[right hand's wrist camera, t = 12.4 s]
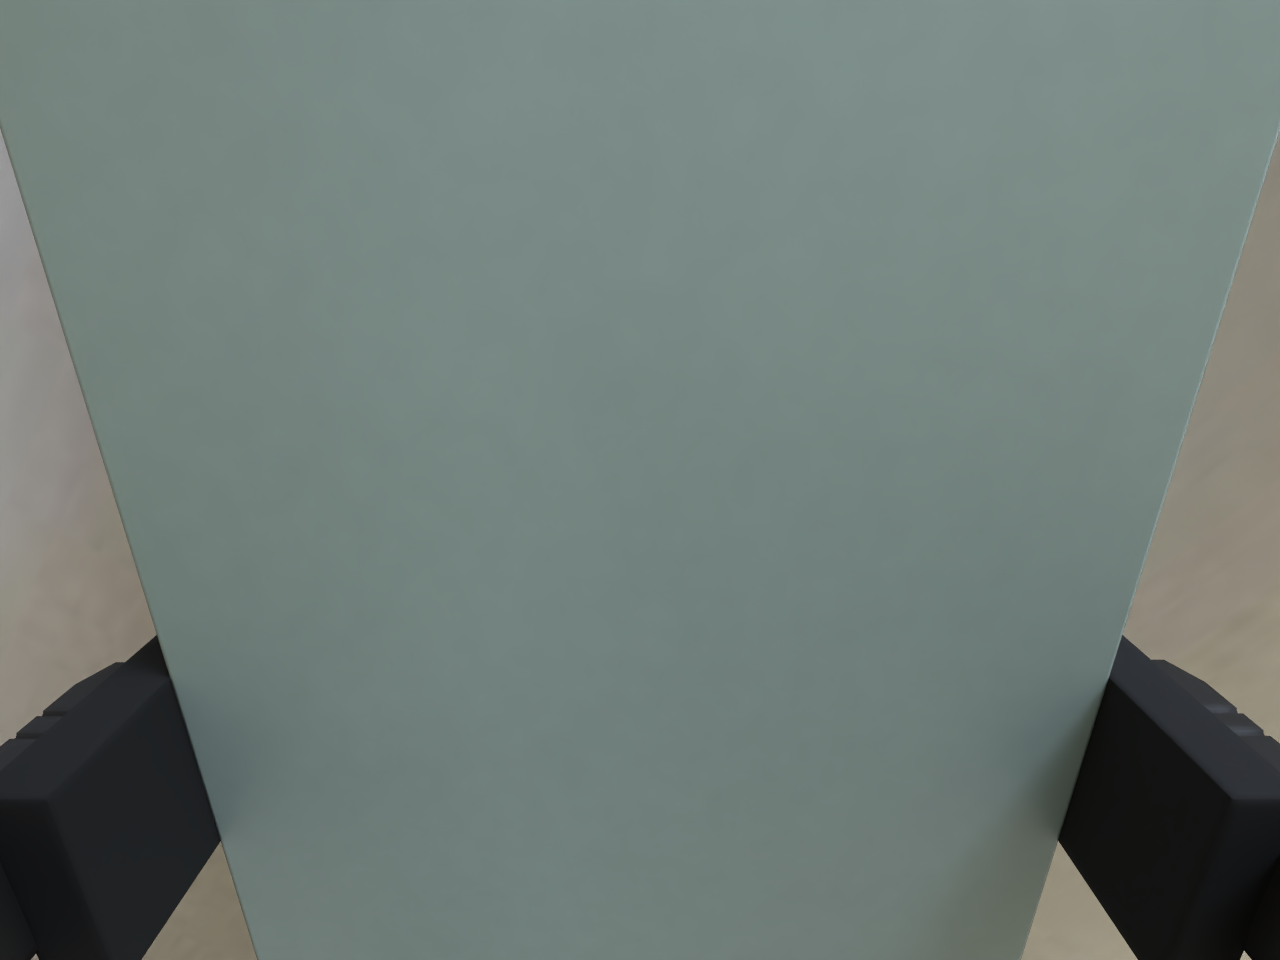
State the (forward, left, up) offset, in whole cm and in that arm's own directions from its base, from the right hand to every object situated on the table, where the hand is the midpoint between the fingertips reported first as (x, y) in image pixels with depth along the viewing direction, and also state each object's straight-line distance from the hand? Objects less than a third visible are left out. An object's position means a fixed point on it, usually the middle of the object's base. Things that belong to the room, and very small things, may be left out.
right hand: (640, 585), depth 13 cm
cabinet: (+2, +3, -6) cm, 7 cm away
